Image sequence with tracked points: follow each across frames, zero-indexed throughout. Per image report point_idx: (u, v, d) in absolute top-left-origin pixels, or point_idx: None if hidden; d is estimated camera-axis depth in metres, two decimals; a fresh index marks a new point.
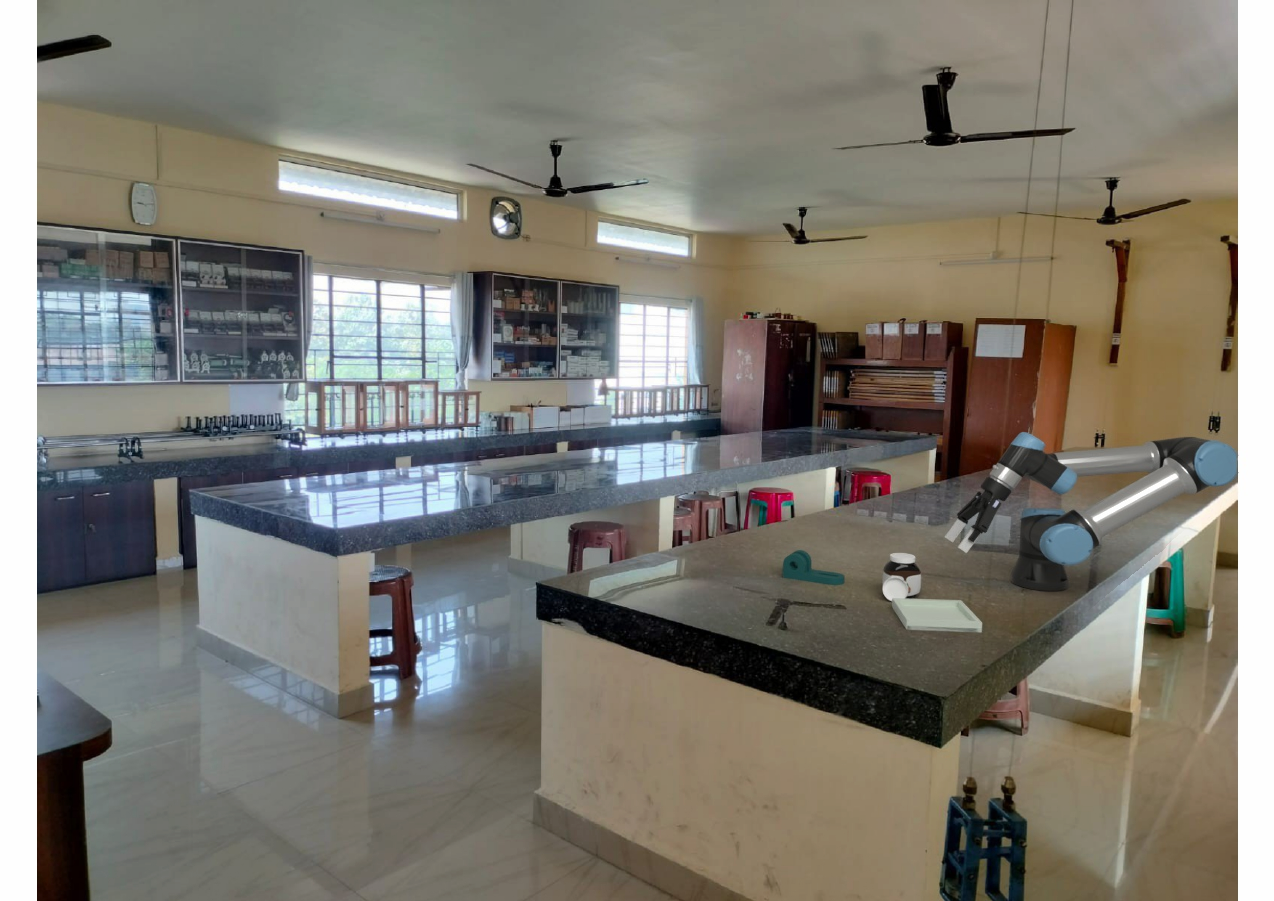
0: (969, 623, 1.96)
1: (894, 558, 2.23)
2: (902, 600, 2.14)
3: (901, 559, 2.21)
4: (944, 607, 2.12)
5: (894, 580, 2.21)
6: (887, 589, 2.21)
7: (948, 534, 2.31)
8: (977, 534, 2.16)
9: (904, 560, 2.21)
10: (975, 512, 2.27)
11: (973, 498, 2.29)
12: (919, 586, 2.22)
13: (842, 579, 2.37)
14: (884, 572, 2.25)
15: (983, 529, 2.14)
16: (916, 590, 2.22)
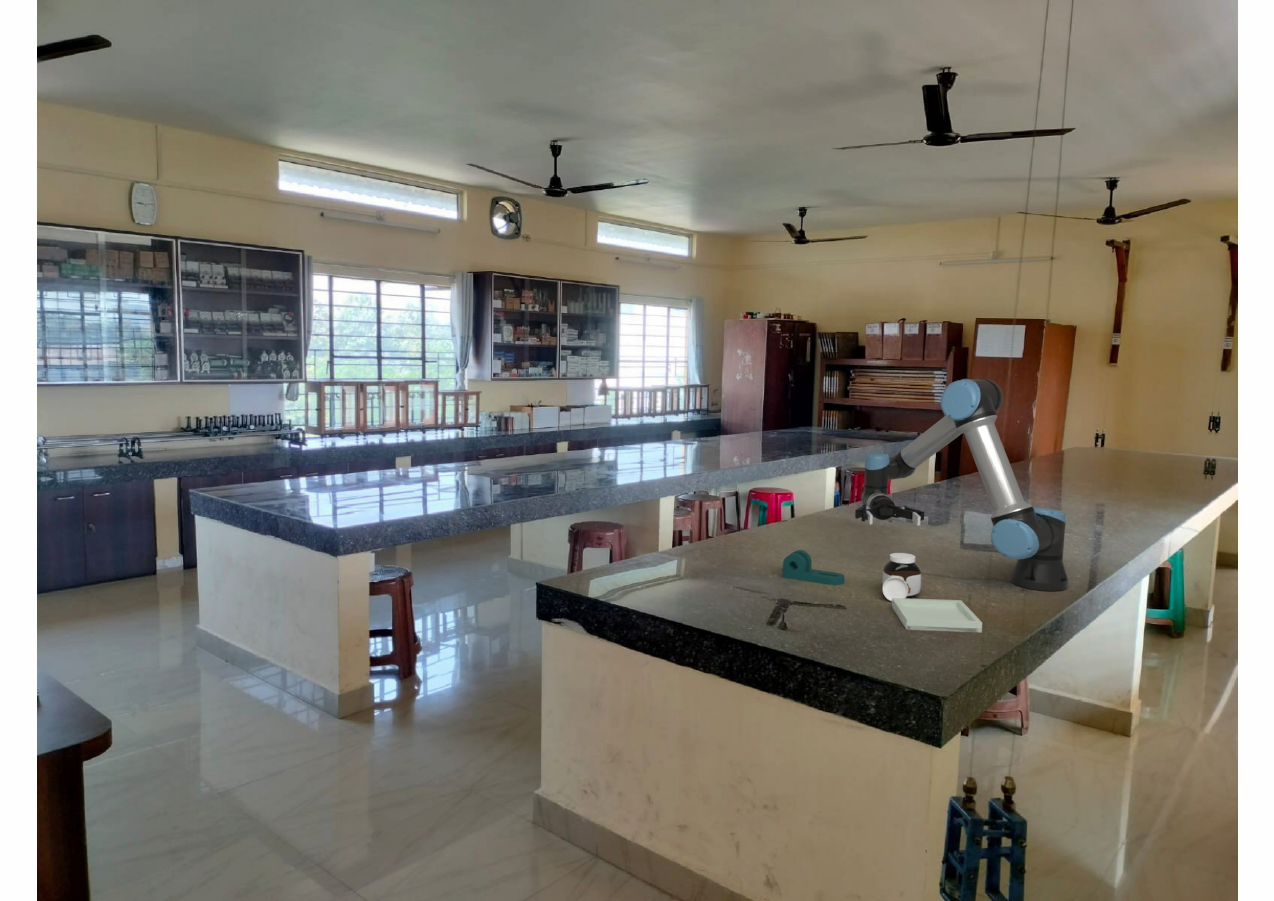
0: (969, 623, 1.96)
1: (894, 558, 2.23)
2: (902, 600, 2.14)
3: (901, 559, 2.21)
4: (944, 607, 2.12)
5: (894, 580, 2.21)
6: (887, 589, 2.21)
7: (916, 523, 2.33)
8: (862, 514, 2.39)
9: (904, 560, 2.21)
10: (900, 511, 2.42)
11: None
12: (919, 586, 2.22)
13: (842, 579, 2.37)
14: (884, 572, 2.25)
15: (855, 513, 2.41)
16: (916, 590, 2.22)
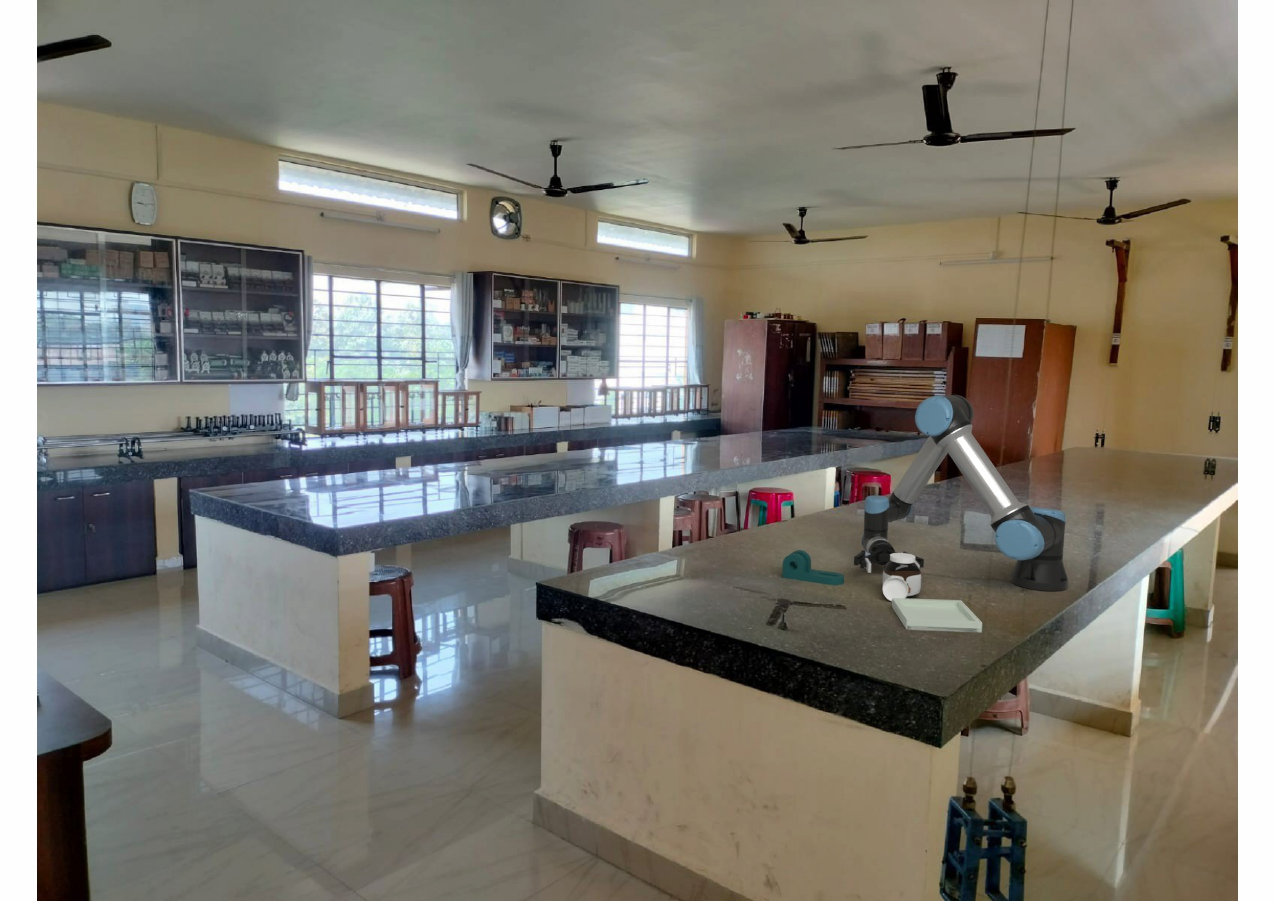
0: (969, 623, 1.96)
1: (894, 558, 2.23)
2: (902, 600, 2.14)
3: (901, 559, 2.21)
4: (944, 607, 2.12)
5: (894, 580, 2.21)
6: (887, 589, 2.21)
7: None
8: (861, 561, 2.36)
9: (904, 560, 2.21)
10: None
11: None
12: (919, 586, 2.22)
13: (842, 579, 2.37)
14: (884, 572, 2.25)
15: (854, 560, 2.39)
16: (916, 590, 2.22)
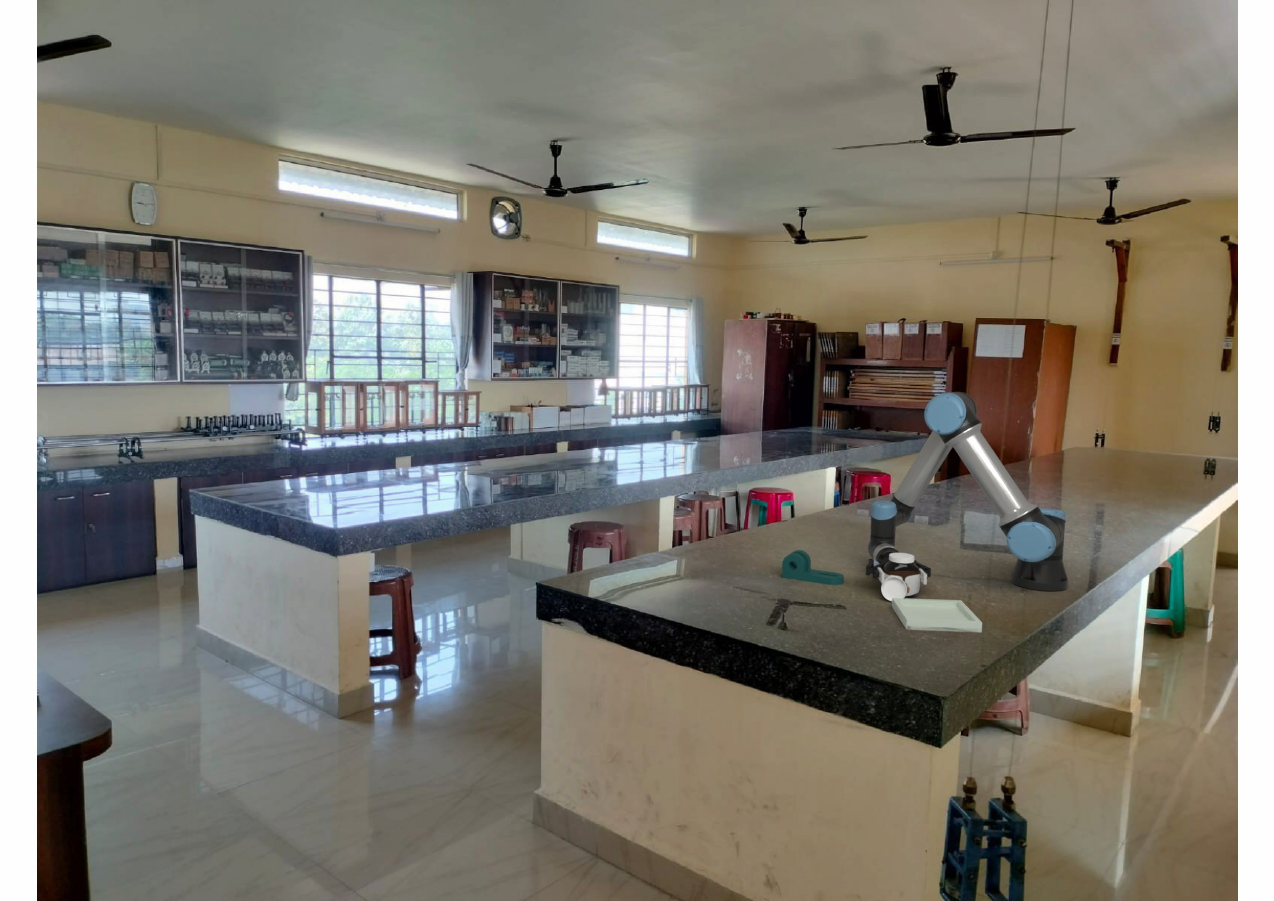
0: (969, 623, 1.96)
1: (893, 558, 2.23)
2: (902, 600, 2.14)
3: (900, 559, 2.21)
4: (944, 607, 2.12)
5: (893, 580, 2.21)
6: (886, 589, 2.21)
7: (922, 581, 2.20)
8: (873, 571, 2.26)
9: (903, 560, 2.21)
10: None
11: None
12: (918, 586, 2.22)
13: (841, 579, 2.37)
14: None
15: (866, 569, 2.28)
16: (915, 590, 2.22)
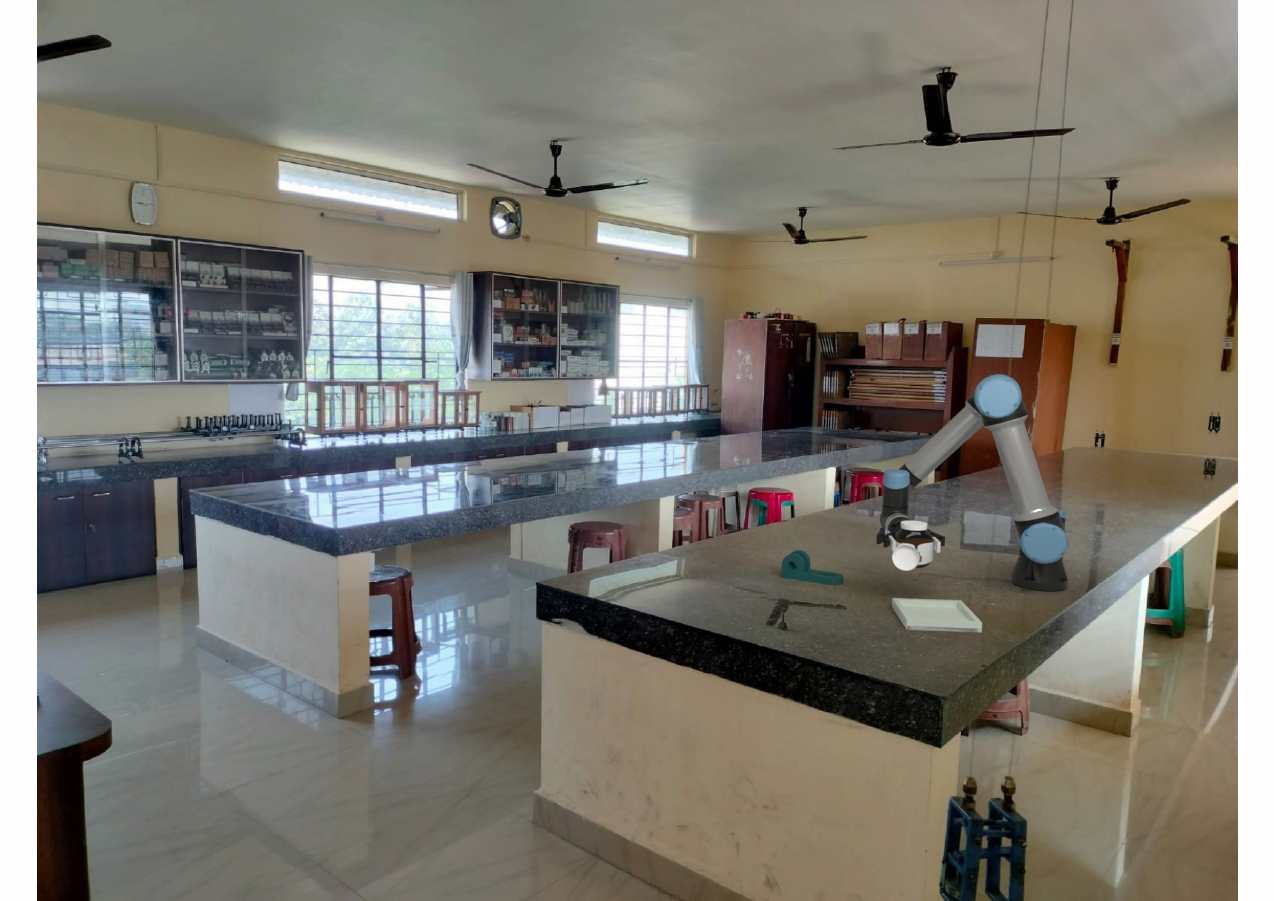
0: (969, 623, 1.96)
1: (905, 525, 2.12)
2: (902, 600, 2.14)
3: (912, 526, 2.11)
4: (944, 607, 2.12)
5: (904, 548, 2.11)
6: (897, 557, 2.11)
7: (936, 549, 2.09)
8: (884, 539, 2.15)
9: (915, 527, 2.11)
10: None
11: None
12: (931, 555, 2.12)
13: (841, 579, 2.37)
14: None
15: None
16: (928, 559, 2.12)
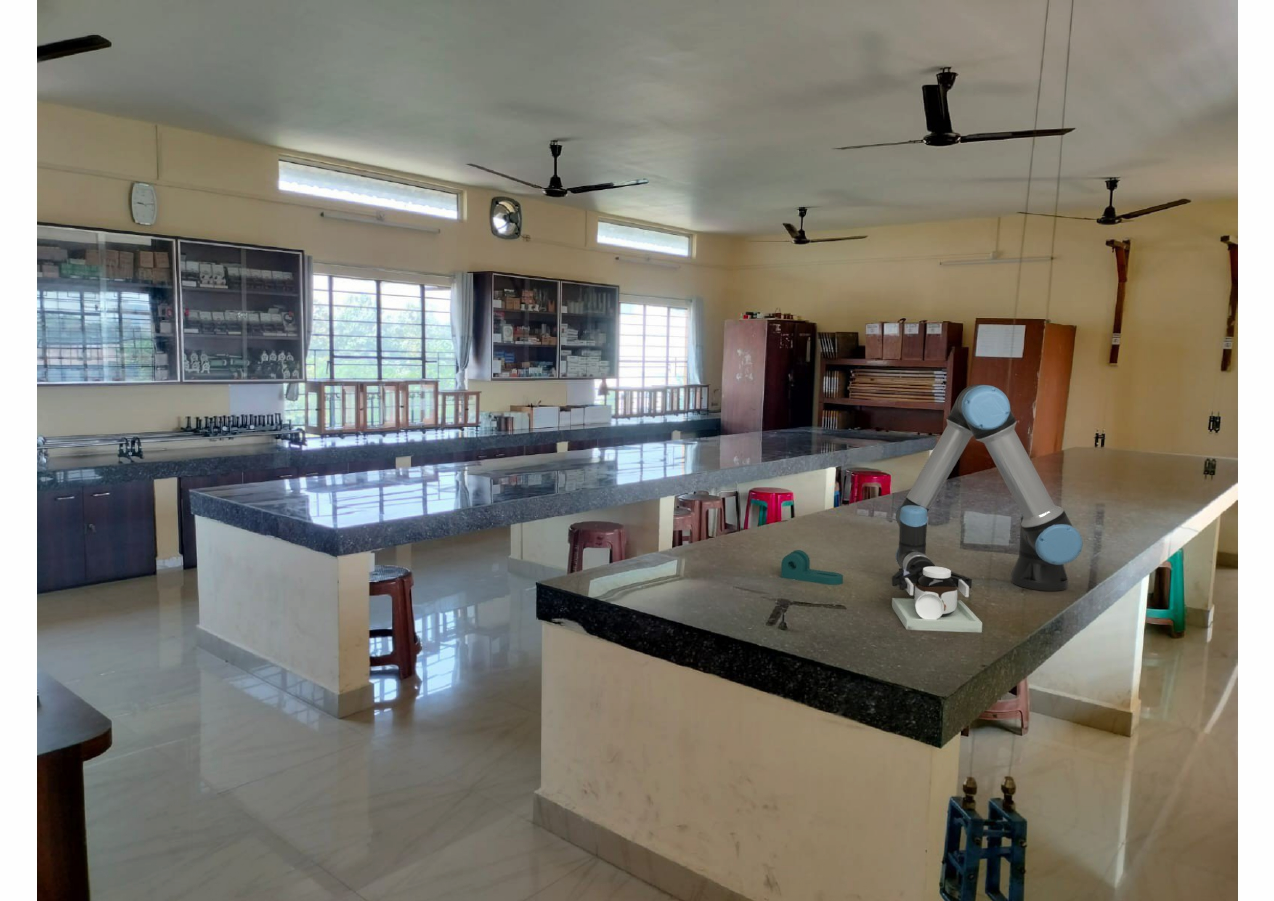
0: (969, 623, 1.96)
1: (928, 572, 2.04)
2: (902, 600, 2.14)
3: (936, 574, 2.03)
4: None
5: (928, 597, 2.03)
6: (920, 606, 2.03)
7: (964, 594, 2.02)
8: (900, 582, 2.08)
9: (939, 575, 2.03)
10: None
11: None
12: (955, 603, 2.04)
13: (840, 579, 2.37)
14: (916, 587, 2.07)
15: (892, 580, 2.10)
16: (952, 608, 2.04)
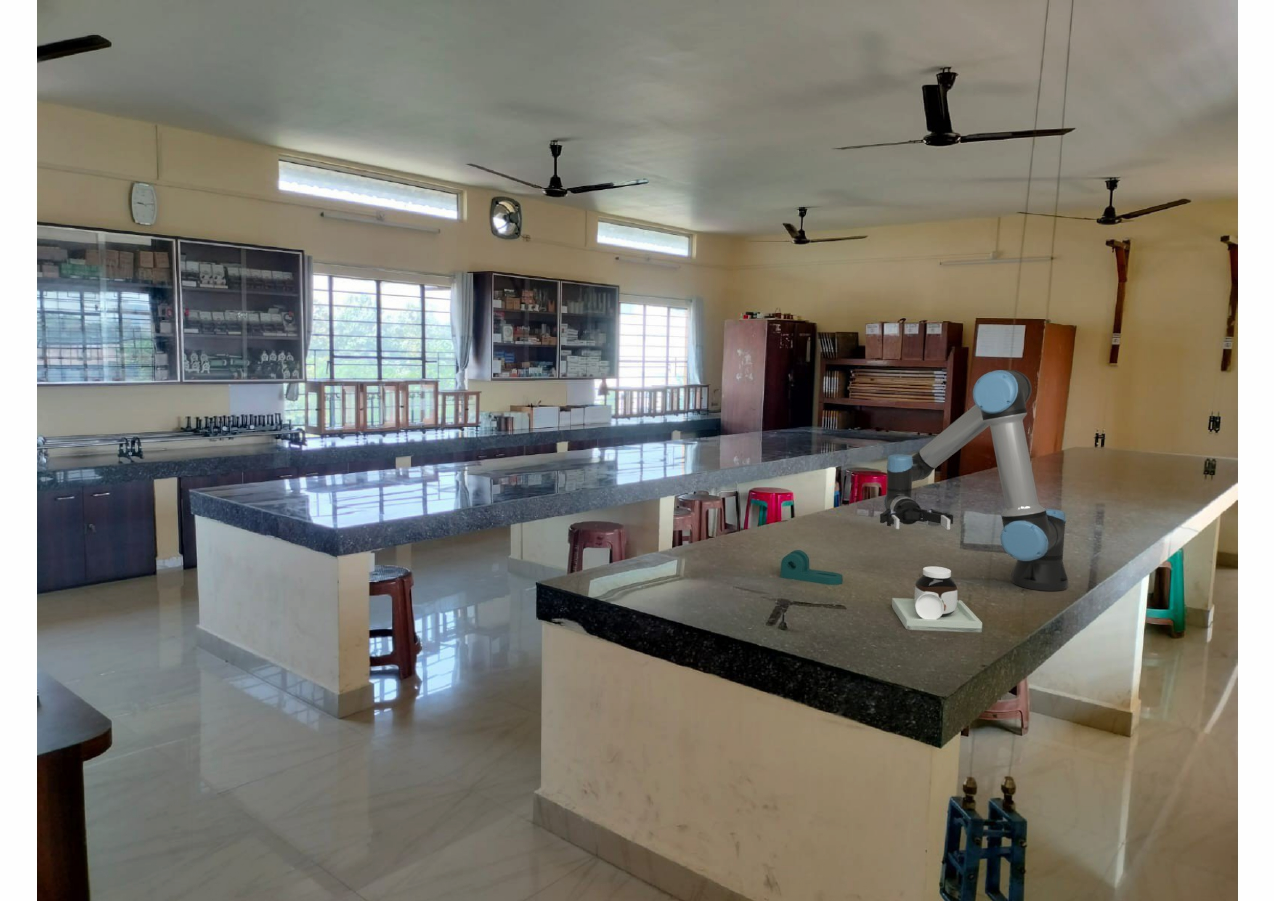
0: (969, 623, 1.96)
1: (928, 572, 2.04)
2: (902, 600, 2.14)
3: (936, 574, 2.03)
4: None
5: (928, 597, 2.03)
6: (920, 606, 2.03)
7: (945, 527, 2.20)
8: (888, 518, 2.26)
9: (939, 575, 2.03)
10: (928, 514, 2.29)
11: None
12: (955, 603, 2.04)
13: (840, 579, 2.37)
14: (916, 587, 2.07)
15: (880, 517, 2.28)
16: (952, 608, 2.04)
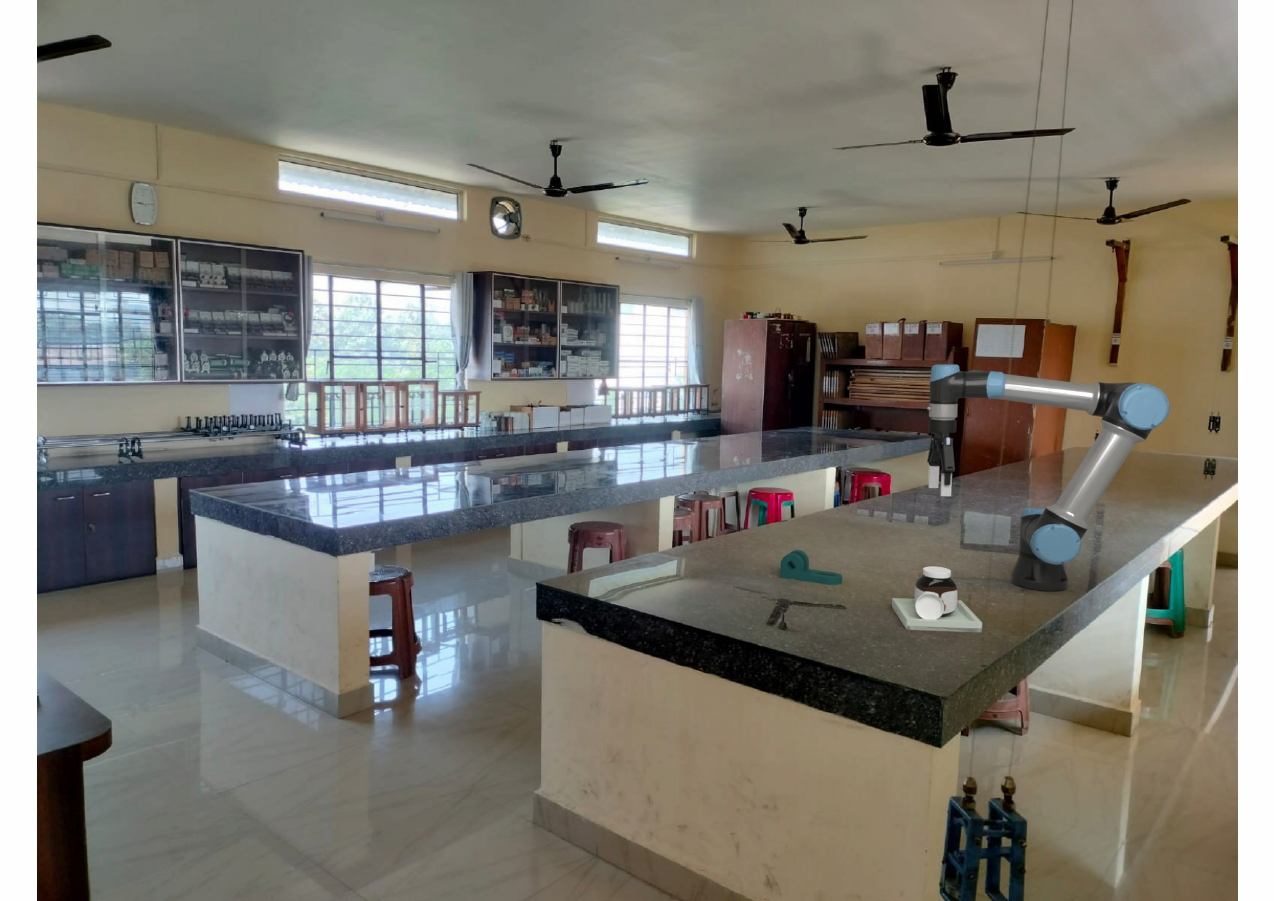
0: (969, 623, 1.96)
1: (928, 572, 2.04)
2: (902, 600, 2.14)
3: (936, 574, 2.03)
4: None
5: (928, 597, 2.03)
6: (920, 606, 2.03)
7: (930, 483, 2.35)
8: (949, 476, 2.20)
9: (939, 575, 2.03)
10: None
11: (931, 441, 2.34)
12: (955, 603, 2.04)
13: (840, 579, 2.37)
14: (916, 587, 2.07)
15: (950, 470, 2.18)
16: (952, 608, 2.04)
